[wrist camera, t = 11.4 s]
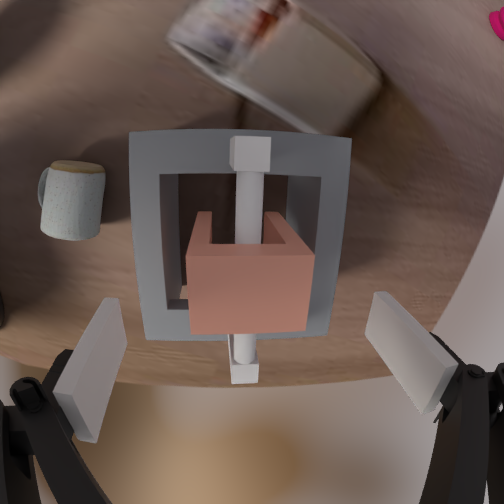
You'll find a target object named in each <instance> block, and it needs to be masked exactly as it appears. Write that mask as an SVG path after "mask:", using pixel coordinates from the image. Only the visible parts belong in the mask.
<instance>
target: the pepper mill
mask: <svg viewBox="0 0 504 504" xmlns="http://www.w3.org/2000/svg"><path fill="white" fill-rule="evenodd" d="M489 19H490V23H491V26H492V28H493V30H494V32H495V33H496V34H497V36H498V37H499V38H500V39H502V40H504V7H502V8H501V9H500V12H499V11H495V12H491V13H490V15H489Z"/></svg>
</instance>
